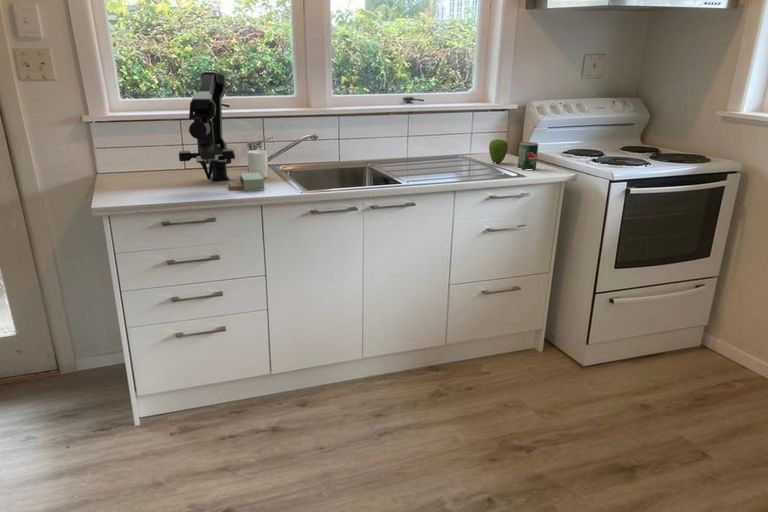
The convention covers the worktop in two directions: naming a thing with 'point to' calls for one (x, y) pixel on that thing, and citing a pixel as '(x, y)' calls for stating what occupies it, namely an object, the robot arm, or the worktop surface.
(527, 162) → the canned tomato
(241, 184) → the board
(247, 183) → the green channel beam
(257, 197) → the worktop surface
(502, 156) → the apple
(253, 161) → the white cup
